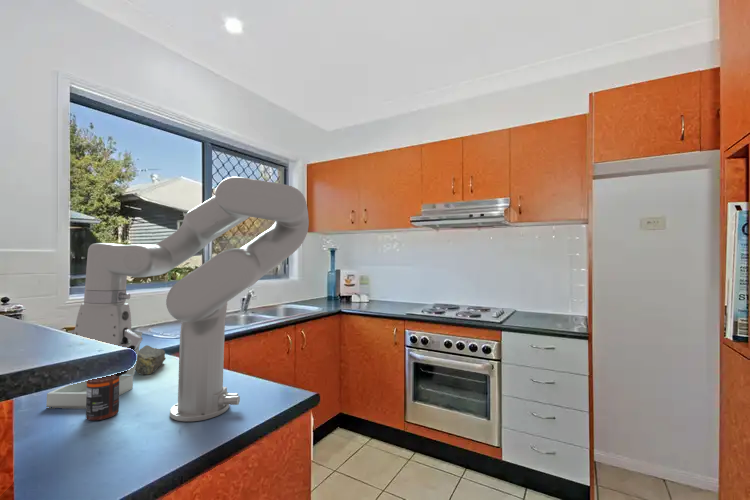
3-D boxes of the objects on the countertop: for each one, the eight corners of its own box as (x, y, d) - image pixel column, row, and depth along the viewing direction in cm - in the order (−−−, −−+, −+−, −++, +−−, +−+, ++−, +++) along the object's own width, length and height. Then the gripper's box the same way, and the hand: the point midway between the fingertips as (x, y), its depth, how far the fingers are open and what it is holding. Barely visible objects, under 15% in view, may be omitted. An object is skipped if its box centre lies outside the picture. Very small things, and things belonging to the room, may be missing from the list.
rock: (171, 358, 111) (134, 354, 106) (164, 380, 110) (126, 377, 105) (168, 345, 125) (135, 340, 120) (161, 364, 124) (128, 361, 119)
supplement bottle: (117, 408, 85) (119, 360, 85) (119, 416, 80) (121, 366, 81) (85, 414, 81) (86, 364, 81) (85, 424, 77) (87, 371, 77)
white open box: (140, 383, 101) (142, 331, 102) (95, 408, 84) (97, 346, 85) (99, 383, 101) (101, 331, 101) (46, 408, 84) (48, 345, 85)
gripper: (153, 297, 85) (148, 370, 85) (79, 294, 85) (74, 367, 84) (133, 301, 78) (127, 380, 77) (52, 297, 78) (45, 377, 77)
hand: (99, 373), depth 81 cm, fingers open, 9 cm apart
